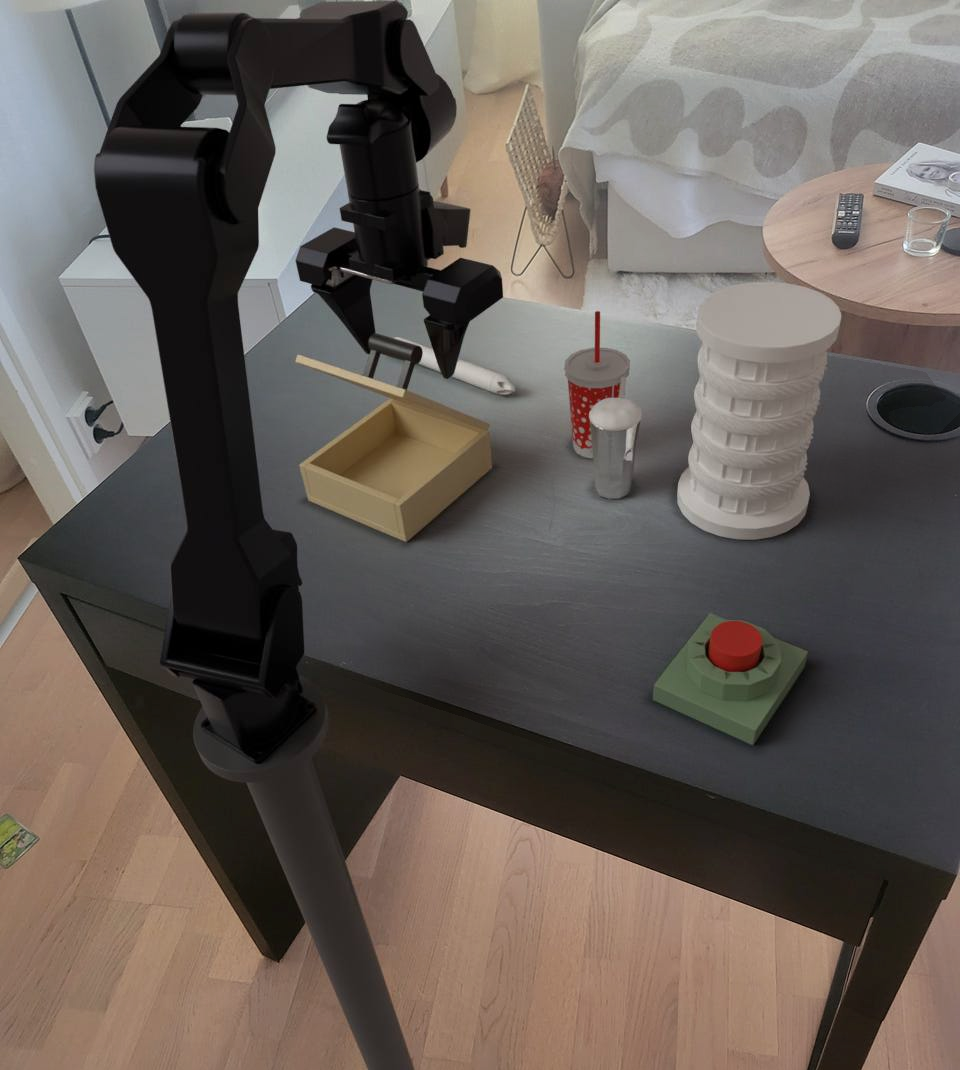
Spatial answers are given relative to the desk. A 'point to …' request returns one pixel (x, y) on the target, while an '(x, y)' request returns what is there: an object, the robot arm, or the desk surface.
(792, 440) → the decorative container
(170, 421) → the robot arm
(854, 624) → the desk surface
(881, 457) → the desk surface
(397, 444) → the tan wooden shallow box
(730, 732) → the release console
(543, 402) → the desk surface
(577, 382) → the beverage cup
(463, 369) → the marker
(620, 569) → the desk surface
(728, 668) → the release button
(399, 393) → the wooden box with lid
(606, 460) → the milkshake
